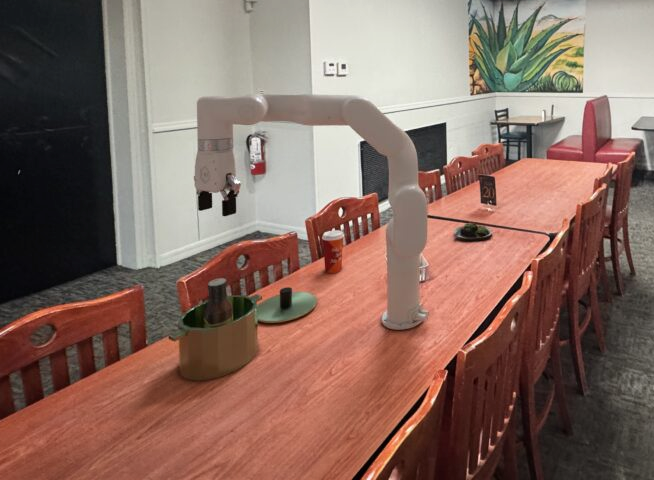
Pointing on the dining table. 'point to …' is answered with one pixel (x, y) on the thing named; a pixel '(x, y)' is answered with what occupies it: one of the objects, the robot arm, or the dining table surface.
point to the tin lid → (285, 306)
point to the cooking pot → (217, 340)
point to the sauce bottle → (217, 304)
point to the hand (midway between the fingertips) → (217, 212)
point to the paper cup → (333, 250)
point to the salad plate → (472, 232)
